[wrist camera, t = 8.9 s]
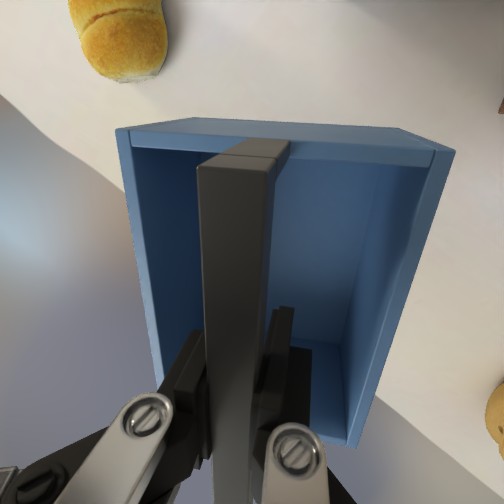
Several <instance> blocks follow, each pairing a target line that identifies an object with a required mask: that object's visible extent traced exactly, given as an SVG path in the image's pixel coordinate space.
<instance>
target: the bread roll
mask: <svg viewBox="0 0 504 504" xmlns="http://www.w3.org/2000/svg"><path fill="white" fill-rule="evenodd" d="M68 5H69V11H70V15H71V18H72V21H73V24H74V27H75V29H76V31H77V34H78V36H79V39H80V42H81V47H82V50H83V54H84V56H85V57H86V59H87V60H88V62H89V63H90V65H91V66H92V67H93V69H94V70H95V71H96V72H98V73H99V74H100V75H102V76H104V77H106V78H108V79H110V80H113V81H116V82H118V83H132V82H140V81H143V80H147V79H151V78H155V77H156V76H157V75H158V74H159V71H160V69H161V67H162V64H163V62H164V60H165V58H166V54H167V46H168V39H167V29H166V25H165V21H164V17H163V12H162V7H161V0H68Z"/></svg>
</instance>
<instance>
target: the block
mask: <svg viewBox="0 0 504 504" xmlns="http://www.w3.org/2000/svg"><path fill="white" fill-rule="evenodd" d="M498 113H499V114H504V99H503V101H502V104H501V107H500V109H499V112H498Z"/></svg>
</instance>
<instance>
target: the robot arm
mask: <svg viewBox="0 0 504 504" xmlns="http://www.w3.org/2000/svg"><path fill="white" fill-rule="evenodd" d="M294 309H295V308H294V307H287V306H281V305H280V306H279V309H273V310H272V315H271V319H270V323H269V327H268V332H267V336H266V340H265V345H264V351H263V360H262V364H261V369H260V373H259V377H258V382H257V386H256V391H255V392H254V393H253V397H252V402H251V410H250V429H249V449H248V470H251V484H250V492H251V494H252V496H253V498H254V500H255V501H256V503H257V504H357V503H356V502H355V501H354V500H353V498H352V497H351V496H350V494H349V493H348V492H347V491H346V489H345V488H344V487H343V486H342V484H341V483H340V482H339V481H338V479H337V478H336V477H335V475H334V474H333V473H332V472H331V470H330V469H329V468H328V467H327V462H326V453H325V449H324V445H323V443H322V441H321V440H320V438H319V436H318V435H317V434H316V433H315V432H314V431H313V430H312V429H310V428H309V427H310V400H311V373H312V349H306V348H301V347H295V346H290V341H291V333H292V325H293V317H294ZM210 456H211V436H210V416H209V396H208V383H207V367H206V348H205V328H204V329H203V330H197V329H193V330H192V331H191V332H190V333H189V335H188V337H187V339H186V341H185V342H184V344H183V346H182V348H181V350H180V351H179V353H178V355H177V357H176V358H175V360H174V362H173V364H172V366H171V367H170V369H169V371H168V373H167V375H166V376H165V378H164V380H163V382H162V383H161V385H160V387H159V389H158V391H157V392H156V393H155V392H150V393H143V394H141V395H138V396H136V397H134V398H133V399H131V400H130V401H129V402H127V403H126V404H125V406H124V407H123V408H122V409H121V411H120V412H119V413H118V414H117V416H116V417H115V419H114V420H113V421H112V423H111V424H110V426H108V427H106V428H104V429H102V430H100V431H97V432H95V433H93V434H91V435H89V436H87V437H85V438H83V439H81V440H79V441H77V442H75V443H73V444H71V445H69V446H66V447H64V448H63V449H60V450H58V451H56V452H54V453H52V454H50V455H48V456H46V457H44V458H42V459H40V460H38V461H36V462H35V463H33V464H31V465H29V466H28V467H26V468H25V469H20V470H19V469H18V467H17V466H11V467H2V468H0V504H173V503H174V500H175V498H176V496H177V493H178V491H179V488H180V485H181V482H182V481H184V480H185V479H187V478H188V477H190V476H191V473H192V470H193V468H194V469H199V470H200V468H201V465H202V462H203V459H207V460H208V459H209V458H210Z"/></svg>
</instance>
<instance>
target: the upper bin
mask: <svg viewBox="0 0 504 504" xmlns="http://www.w3.org/2000/svg"><path fill="white" fill-rule="evenodd" d="M115 135H116V141H117V147H118V153H119V159H120V165H121V171H122V177H123V183H124V189H125V195H126V201H127V207H128V213H129V219H130V225H131V231H132V237H133V243H134V249H135V255H136V261H137V267H138V274H139V280H140V285H141V292H142V298H143V304H144V309H145V316H146V322H147V328H148V333H149V340H150V346H151V352H152V358H153V364H154V370H155V376H156V382H157V388H158V389H159V387H160V385H161V383H162V382H163V380H164V378H165V376H166V375H167V373H168V371H169V369H170V367H171V366H172V364H173V362H174V360H175V358H176V357H177V355H178V353H179V351H180V350H181V348H182V346H183V344H184V342H185V341H186V339H187V337H188V335H189V333H190V332H191V331H192V330H193V329H197V330H203V329H204V328H205V348H206V367H207V383H208V396H209V416H210V436H211V465H212V484H213V502H214V504H253V496H252V494H251V492H250V484H251V470H248V449H249V429H250V410H251V402H252V397H253V393H254V392H255V391H256V386H257V382H258V377H259V373H260V369H261V364H262V360H263V351H264V345H265V340H266V336H267V332H268V327H269V323H270V319H271V315H272V310H273V309H279V306H280V305H281V306H287V307H294V308H295V309H294V317H293V325H292V333H291V341H290V346H295V347H301V348H306V349H312V373H311V400H310V427H309V428H310V429H312V430H313V431H314V432H315V433H316V434H317V435H318V436H319V438H320V440H321V441H323V442H328V443H333V444H337V445H341V446H345V445H346V446H347V447H350V448H355V449H356V448H357V445H358V442H359V439H360V436H361V433H362V430H363V427H364V424H365V421H366V418H367V416H368V413H369V409H370V406H371V404H372V401H373V398H374V395H375V392H376V389H377V386H378V383H379V380H380V377H381V374H382V371H383V368H384V365H385V362H386V359H387V356H388V353H389V350H390V347H391V344H392V341H393V338H394V335H395V332H396V329H397V326H398V323H399V320H400V317H401V314H402V311H403V308H404V305H405V302H406V299H407V296H408V293H409V290H410V287H411V284H412V281H413V278H414V275H415V272H416V269H417V266H418V263H419V260H420V257H421V254H422V251H423V248H424V245H425V242H426V239H427V236H428V233H429V230H430V227H431V224H432V222H433V219H434V216H435V213H436V210H437V207H438V204H439V201H440V198H441V195H442V192H443V189H444V186H445V183H446V180H447V177H448V174H449V171H450V168H451V165H452V162H453V159H454V156H455V153H456V150H454V149H452V148H449V147H446V146H444V145H441V144H439V143H436V142H433V141H431V140H428V139H426V138H423V137H420V136H418V135H415V134H413V133H410V132H407V131H405V130H402V129H400V128H391V127H372V126H353V125H333V124H314V123H295V122H276V121H256V120H237V119H218V118H199V117H192V118H186V119H179V120H172V121H165V122H159V123H152V124H145V125H138V126H132V127H125V128H118V129H115Z"/></svg>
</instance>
